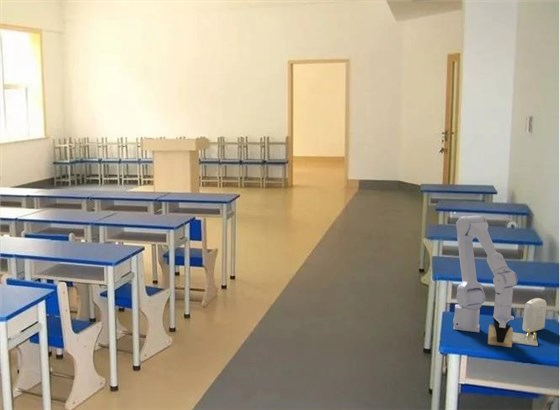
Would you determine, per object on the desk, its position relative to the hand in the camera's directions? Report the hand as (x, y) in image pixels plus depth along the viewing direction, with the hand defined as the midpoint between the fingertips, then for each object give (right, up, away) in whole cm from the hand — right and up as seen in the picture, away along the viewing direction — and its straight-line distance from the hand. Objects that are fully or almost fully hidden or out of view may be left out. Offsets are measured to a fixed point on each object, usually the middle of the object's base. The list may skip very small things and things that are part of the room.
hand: (499, 339), depth 214 cm
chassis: (+9, -1, +5) cm, 10 cm away
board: (0, -1, 0) cm, 1 cm away
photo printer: (+19, 0, +15) cm, 24 cm away
